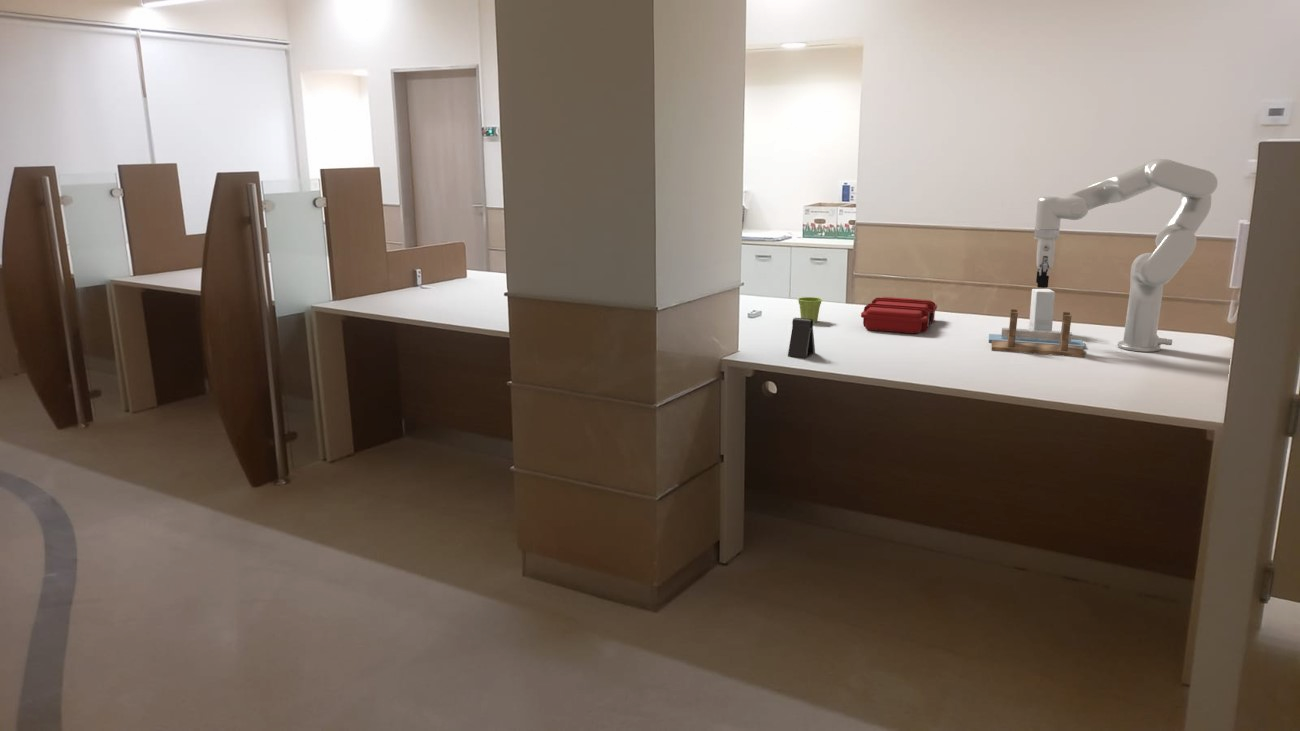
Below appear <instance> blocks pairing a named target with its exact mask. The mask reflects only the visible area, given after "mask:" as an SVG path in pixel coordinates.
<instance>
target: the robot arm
mask: <svg viewBox="0 0 1300 731" xmlns="http://www.w3.org/2000/svg"><path fill="white" fill-rule="evenodd" d="M1155 188H1163V189H1165V190H1169V191H1173V192H1175V193H1179V194H1181V200H1180V204H1178V205H1179V206H1178V207H1177V209H1176V210H1175V212H1174V213H1173V214H1172V216H1171V217H1170V218H1169V219H1168V220H1167V222H1166V223H1165V225H1164V226H1163V227H1162V228H1161V230H1160V231H1159V232H1158V233H1157V235H1156V237H1155V241H1154V243H1155V246H1156V248H1155V249H1154V251H1153V252H1145V253H1142V254H1140V255H1138V256H1137V257H1136V258H1134V260H1133V262H1132V264H1131V266H1130V278H1129V279H1130V280H1129V281H1130V283H1129V284H1130V285H1129V296H1128V302H1127V310H1126V318H1125V324H1124V332H1123V334H1124V335H1123V340H1120V341H1118V342H1117V347H1118V348H1120V349H1123V350H1127V351H1132V352H1141V353H1142V352H1147V353H1153V352H1159V351H1160V350H1161V345H1165V346H1172V345H1173V339H1170V338H1163V337H1159V336H1158V328H1159V321H1160V316H1161V314H1160V313H1161V308H1162V307H1161V306H1162V300H1163V291H1164V285H1166V284H1168V283H1169V282H1170V281H1171V280H1172V279H1173V278H1174V277H1175V276H1176V274H1177V273H1178V272H1179V270H1180V269H1182V266H1184V264H1185V263H1186V262H1187V261H1188V259H1190V257H1191V256H1192V254H1193V253H1194V251H1195V249H1196V246H1197V241H1198V240H1197V236H1196V235H1195V233H1197V231H1198V230H1199V228H1200V227H1201V226H1202V224H1203V222H1204V221H1205V220H1206V218H1207V216H1208V215H1209V213H1210V210H1211V208H1212V194H1214V193H1215V191H1216V190H1217V188H1218V178H1217V176H1216V175H1215V174H1214V173H1213V172H1211V171H1210V170H1207V169H1204V168H1198V167H1197V166H1196V167H1195V166H1192V165H1188V164H1184V163H1181V162H1178V161H1175V160H1172V159H1167V158H1155V159H1151V160H1149V161H1147V162H1144V163H1142V164H1140V165H1137V166H1135V167H1133V168H1130V169H1128V170H1126V171H1123V172H1122V173H1121V172H1120V173H1119V174H1117V175H1114V176H1112V177H1109V178H1107V179H1104V180H1102V181H1100V182H1097V183H1094V184H1092V185H1089V186H1087V187H1085V188H1082V189H1079V190H1077V191H1075V192H1072V193H1071V194H1067V196H1065V197H1063V198H1062V197H1059V196H1041V197H1039V198H1038V199H1037V203H1036V214H1035V215H1036V216H1035V223H1034V224H1035V226H1034V233H1033V234H1034V236H1033V238H1034V240H1037V246H1036V267H1037V271H1036V280H1035V282H1036V284H1037V285H1036V286H1037V289H1048V288H1049V280H1050V276H1049V271H1050V270H1053V269H1054V261H1055V250H1056V249H1055V248H1056V240H1057V241H1058V240H1059V236H1060V228H1061V219H1063V220H1070V221H1078V220H1081V219H1083V218H1084V217H1086V216H1087V215H1088V212H1089V211H1091V210H1094V209H1095V208H1098V207H1101V206H1103V205H1104V206H1105V205H1109V204H1114V203H1120V202H1121V203H1122V202H1125V201H1127V200H1129V199H1131V198H1133V197H1135V196H1138V195H1140V194H1143V193H1145V192H1147V191H1148V192H1149V191H1151V190H1152V189H1155ZM1049 269H1050V270H1049Z"/></svg>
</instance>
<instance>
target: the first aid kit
mask: <svg viewBox="0 0 1300 731" xmlns="http://www.w3.org/2000/svg"><path fill="white" fill-rule="evenodd" d="M937 309H938V305H937V304H936V303H935V301H932V300H930V299H921V298H919V299H918V298H908V297H907V298H903V297H892V296H891V297H890V296H889V297H888V296H882V297H875V298H874V299H872V300H871V302H870V303H868V304H867V305H865V306H864V308H863V311H861V313H860V318H862V320H863V321H862V323H863V326H864V327H865V329H866V330H869V331H878V332H879V331H880V332H893V333H906V334H918V333H922V332H923V333H925V332H926V331H927V330H928V329H929V326H931V325H932V324H933V323H934V322H935V316H936V310H937Z"/></svg>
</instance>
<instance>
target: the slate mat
mask: <svg viewBox="0 0 1300 731" xmlns="http://www.w3.org/2000/svg"><path fill="white" fill-rule="evenodd" d="M992 341H1005V342H1008V339H1001V334H997V333H989V334H988V343H989V344H990V343H991V344H992ZM1015 342H1020V343H1034V344H1049V345H1060V343H1059V342H1044V341H1030V340H1016V339H1015ZM1068 346H1077V347H1083V350H1085V349H1086V346H1085V343H1084V341H1083V340H1082V339H1071V343H1068Z"/></svg>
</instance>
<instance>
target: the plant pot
mask: <svg viewBox="0 0 1300 731" xmlns="http://www.w3.org/2000/svg"><path fill="white" fill-rule="evenodd" d="M797 301H798V305H799V312H800V318H804V319H812V320H813V323H816V322H817V321H818V319H819V313H820V308H821V305H822V301H823V298H820V297H815V296H814V297H813V296H812V297H810V296H805V297H803V296H802V297H798V298H797Z"/></svg>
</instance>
